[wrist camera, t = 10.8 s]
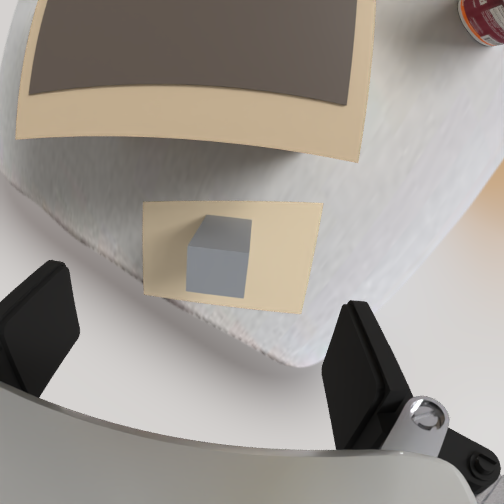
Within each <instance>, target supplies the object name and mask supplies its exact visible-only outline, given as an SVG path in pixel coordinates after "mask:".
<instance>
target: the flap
mask: <svg viewBox="0 0 504 504" xmlns="http://www.w3.org/2000/svg"><path fill="white" fill-rule="evenodd" d="M322 209H323V203H307V202H272V201H153V202H143V285H144V295H150V296H156V297H163V298H169V299H176V300H183V301H190V302H198V303H205V304H213V305H221V306H229V307H237V308H246V309H255V310H264V311H274V312H284V313H294V314H301V312H302V308H303V303H304V299H305V294H306V290H307V285H308V280H309V276H310V271H311V266H312V261H313V256H314V251H315V246H316V241H317V236H318V231H319V225H320V220H321V214H322Z"/></svg>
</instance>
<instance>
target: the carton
mask: <svg viewBox="0 0 504 504" xmlns="http://www.w3.org/2000/svg"><path fill="white" fill-rule="evenodd" d="M375 10H376V0H38V2H37V6H36V9H35V13H34V16H33V20H32V24H31V28H30V32H29V37H28V41H27V46H26V51H25V56H24V62H23V68H22V74H21V81H20V88H19V97H18V107H17V119H16V138H15V140H18V139H32V138H48V137H75V136H130V137H158V138H176V139H191V140H203V141H215V142H225V143H234V144H243V145H252V146H260V147H267V148H275V149H282V150H288V151H295V152H301V153H307V154H313V155H319V156H324V157H330V158H335V159H340V160H346V161H351V162H355V163H358V160H359V154H360V148H361V142H362V136H363V129H364V122H365V115H366V108H367V100H368V92H369V83H370V74H371V64H372V54H373V42H374V28H375Z"/></svg>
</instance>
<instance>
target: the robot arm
mask: <svg viewBox="0 0 504 504" xmlns="http://www.w3.org/2000/svg"><path fill="white" fill-rule="evenodd" d="M79 334H80V327H79V323H78V318H77V313H76V309H75V303H74V297H73V291H72V285H71V279H70V272H69V269H68V268H67V267H66V265H65V263H63V262H59V261H54V260H49V261H47V262H46V263H45V264H44V265H42V266H41V267H40V268H39V269H37V270H36V271H35V272H34V273H33V274H31V275H30V276H29V277H28V278H27V279H26V280H24V281H23V282H22V283H21V284H20V285H19V286H18V287H16V288H15V289H14V290H13V291H12V292H11V293H10V294H9V295H8V296H6V297H5V298H4V299H3V300H2V301H1V302H0V504H504V475H502V476H501V475H500V470H501V467H500V463H499V460H498V458H497V456H496V455H495V454H494V453H493V452H492V451H490V450H489V449H487V448H485V447H483V446H482V445H479V444H478V443H476V442H474V441H472V440H470V439H468V438H466V437H465V436H463V435H461V434H459V433H457V432H455V431H454V430H452V429H450V428H448V426H449V415H448V412H447V410H446V409H445V407H444V406H443V405H442V404H441V403H440V402H438V401H436V400H435V399H433V398H430V397H427V396H417V397H413V395H412V393H411V391H410V389H409V386H408V384H407V382H406V380H405V377H404V375H403V373H402V371H401V369H400V367H399V364H398V362H397V360H396V358H395V356H394V354H393V352H392V350H391V348H390V346H389V344H388V342H387V340H386V338H385V336H384V334H383V332H382V330H381V328H380V326H379V324H378V322H377V320H376V318H375V316H374V314H373V312H372V310H371V309H370V307H369V305H368V303H367V302H364V301H352V300H350V301H349V302H348V304H344V305H343V306H342V308H341V311H340V314H339V317H338V320H337V324H336V327H335V330H334V333H333V336H332V339H331V342H330V345H329V348H328V350H327V353H326V356H325V359H324V362H323V365H322V378H323V383H324V388H325V393H326V398H327V403H328V408H329V414H330V419H331V424H332V429H333V435H334V441H335V446H336V450H289V449H267V448H253V447H242V446H232V445H222V444H215V443H208V442H201V441H195V440H188V439H183V438H177V437H172V436H166V435H161V434H157V433H152V432H147V431H143V430H139V429H134V428H131V427H126V426H123V425H119V424H115V423H111V422H108V421H105V420H101V419H98V418H94V417H91V416H88V415H85V414H82V413H79V412H76V411H73V410H70V409H67V408H64V407H61V406H59V405H56V404H53V403H51V402H48V401H45V400H43V399H40V398H39V397H40V395H41V394H42V392H43V390H44V389H45V387H46V386H47V384H48V383H49V381H50V379H51V378H52V376H53V375H54V373H55V372H56V370H57V369H58V367H59V365H60V364H61V363H62V361H63V360H64V358H65V357H66V355H67V354H68V352H69V351H70V349H71V348H72V346H73V345H74V344H75V342H76V341H77V339H78V337H79Z"/></svg>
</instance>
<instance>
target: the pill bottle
mask: <svg viewBox="0 0 504 504" xmlns="http://www.w3.org/2000/svg"><path fill="white" fill-rule="evenodd" d="M458 12H459V16H460V18H461V21H462V23H463V25H464V26H465V28H466V29H467V31H468V32H469V33H470V34H471V36H472V37H473V38H474V39H476V40H477V41H478V42H480V43H481V44H483V45H486V46H497V45H502V44H504V0H459V2H458Z"/></svg>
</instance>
